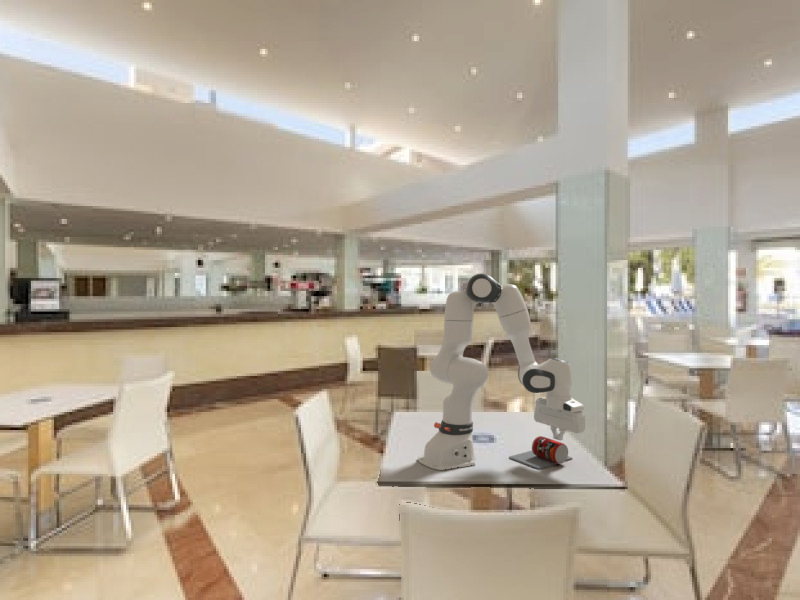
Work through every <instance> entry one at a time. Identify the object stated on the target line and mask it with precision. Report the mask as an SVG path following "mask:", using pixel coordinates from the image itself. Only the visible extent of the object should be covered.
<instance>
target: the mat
mask: <svg viewBox="0 0 800 600" xmlns="http://www.w3.org/2000/svg"><path fill="white" fill-rule="evenodd" d="M508 459H510V460H512V459H513V460H512V461H515V460H516V461H515V462H517V461H518V462H517V463H520V462H521V463H520V464H523V463H524V464H523V465H525V464H526V466H528V465H529V466H528V467H530V466H532V467H531V468H533V467H534V468H533V469H536V468H537V469H536V470H538V469H539V470H542V469H545V467H546V468H548V467H552V466H556V465H558V464H557V463H554V462H552V461H549V460H546V459H544V458H541V457H538V456H536V455H534V454H533V452H532V450H529V451H525V452H521V453H517V454H514V455H511V456H508ZM571 460H573V457H572V456H569V455H568V457H567V459H566V461H565V462H567V461H571Z"/></svg>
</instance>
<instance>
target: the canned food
mask: <svg viewBox="0 0 800 600" xmlns="http://www.w3.org/2000/svg"><path fill="white" fill-rule="evenodd" d="M531 443H532V444H531V451H532V452H533V454H534V455H536V456H538V457H541V458H544V459H546V460H549V461H552V462H554V463H557V464H556V465H558V464H559V465H560V464H563V463H565V462H567V461H566V459H567V457H568V456H569V449H568V446H567V444H565V443H563V442H560V441H559V440H556V439H553V438H552V439H551V438H548V437H545V436H542V435H538V436H537V437H535V438H534V440H533V441H532V442H531Z"/></svg>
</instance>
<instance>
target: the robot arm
mask: <svg viewBox="0 0 800 600" xmlns="http://www.w3.org/2000/svg"><path fill="white" fill-rule="evenodd" d="M468 279H469V280H468V281H467V283H466V286H465V287H464V289H463V290H456V291H453V292H450V293H449V294H448V295H447V297H446V301H445V309H444V320H443V321H444V323H443V324H444V325H443V340H442V344H441V347H440V350H439V352H438V353H437V355H435V356H434V357H433V359H432V360H431V362H430V365H429V366H430V367H429V370H430V374H431V376H432V377H433V378H434V379H436V380H437V381H440V382H442V383H445V384H449V385H452V390H451V393H450V394H449V395H448V396H446V397H445V398H444V399H443V402H442V419H441V422H440V423H439V422H434V423H433V427H434V428H435V429H438V431H437V432H436V433H435V434H434V435H433V436H432V438H430V439H429V441H428V442H427V443H426V444H425V446H424V452H423V454H422V455H419V456H417V461H418V462H419V463H420V464H422V465H423V466H425V467H428V468H430V469H433V470H439V471H444V470H445V469H446V470H452V469H458V468H457V467H459V468H464V467H470V466H471V465H472V466H474V465H476V455H475V451H474V450H475V449H474V443H473V430H474V421H473V418H472V417H473V403H474V399H475V396H476V394H477V392H478V390H479V389H481V388H482V387H483V386H484V385H485V384H486V382H487V380H488V377H489V370H488V367H487V365H486V364H485V363H484V362H482V361H480V360H478V359H475V358H472V357H466V356H464V351H465V349H466V347H467V346H469V345H471V343H473V340H474V314H475V313H474V312H475V311H474V310H475V307H476V305H477V304H483V303H484V304H485V303H486V304H489V303H490V304H492V305H493V306H494V309H495V310H496V314H497V317H498V319H499V322H500V325H501V327H502V329H503V331H504V333H505V335H506V337H507V338H508V339H509V340H510V341H511V345H513V346H512V347H513V349H514V352H515V356H516V358H517V363H518V371H517V377H518V380H519V383H520V384H521V385H522V386H523V387H524V388H525V390H526V391H528V392H530V393H533V394H540V393H541V394H542V393H546V395H545V396H546V397H545V398H542V397H538V398H537V399H536V400H535V407H534V413H533V419H534V421H535V422H536V423H538V424H542V425H546V426H550V431H551V432H552V434H553V437H552V439H553V440H556V441H559V442H560V441H563V440H564V434H565V433H566V431H567V432H571V433H574V434H578V435H579V434H582V433H584V432H585V431H586V415H585V413H584V412H583V411H584V410H585V406H584V404H583V403H582V402H579V401H577V400H576V399H574V398H573V397H572V396H573V394H572V391H571V388H572V384H573V383H572V382H573V374H572V366H571V365H572V364H571V363H569V362H568V361H567V360H565V359H563V358H559V357H558V358H557V357H550V358H548V359H547V360H546V361H544V362H541V363H538V362H537V360H536V359H535V355H534V353H533V350H532V346H531V344H530V340H529V339H530V338H529V337H530V336H529V335H530V330H531V328H532V327H531V326H532V323H531V318H530V314H529V310H528V307H527V304H526V301H525V299H524V297H523V295H522V292H521V291H520V289H519V287H518V286H516V285H515V284H512V283H505V284H502V285H501V284H500V283H499V282H498V281H496V280H495V278H493V277H492V276H491V275H489V274H487V273H483V272H482V273H480V272H479V273H476V274H474V275H472V276H471V277H470V278H468ZM558 431H559V432H558ZM451 468H452V469H451ZM446 470H445V471H446Z"/></svg>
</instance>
